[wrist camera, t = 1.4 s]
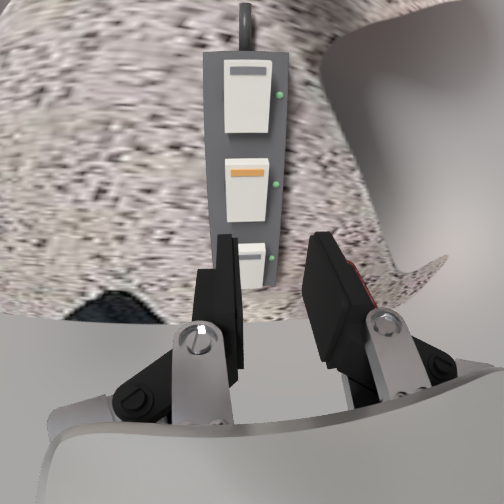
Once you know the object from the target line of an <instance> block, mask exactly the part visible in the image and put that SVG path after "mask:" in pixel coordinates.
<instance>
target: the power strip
mask: <svg viewBox="0 0 504 504" xmlns="http://www.w3.org/2000/svg"><path fill="white" fill-rule="evenodd" d="M251 6H252V4H251V3H241V4H240V10H239V51H217V52H203V98H204V132H205V156H206V176H207V193H208V209H209V223H210V237H211V249H212V261H213V269H216V254H217V235H218V234H232V238H234V237H238V244H248V243H265V249H266V254H265V264H264V274H263V283H262V286H266V285H276V276H277V264H278V252H279V239H280V225H281V211H282V196H283V179H284V162H285V143H286V122H287V98H288V68H289V53H284V52H266V51H251ZM224 60H271V61H272V76H271V92H270V108H269V123H268V133H225V120H224ZM240 158H268V161H269V176H268V189H267V201H266V214H265V221H251V222H227V207H226V179H225V159H240Z"/></svg>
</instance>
